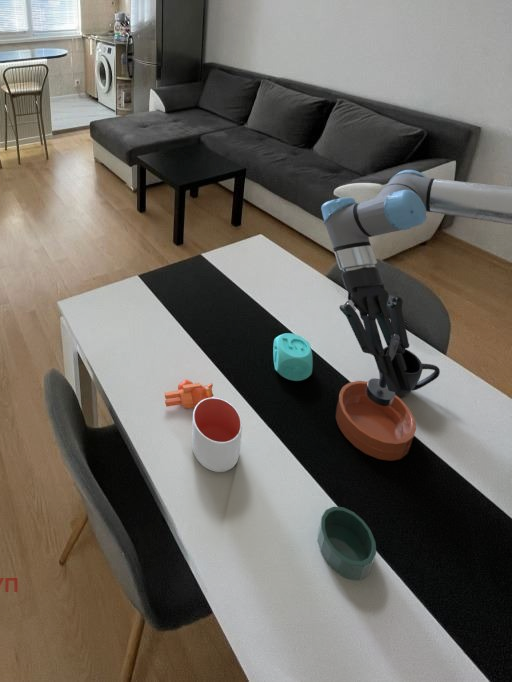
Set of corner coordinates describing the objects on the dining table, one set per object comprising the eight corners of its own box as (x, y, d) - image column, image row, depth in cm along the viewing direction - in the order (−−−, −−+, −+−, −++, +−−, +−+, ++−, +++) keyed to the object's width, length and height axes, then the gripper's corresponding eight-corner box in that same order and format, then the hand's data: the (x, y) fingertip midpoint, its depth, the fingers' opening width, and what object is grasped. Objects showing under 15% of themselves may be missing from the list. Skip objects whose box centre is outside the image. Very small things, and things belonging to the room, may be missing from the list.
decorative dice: (272, 353, 115) (275, 330, 112) (303, 357, 114) (307, 334, 111) (276, 378, 108) (279, 355, 105) (310, 383, 107) (314, 360, 103)
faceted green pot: (369, 537, 78) (374, 521, 76) (371, 593, 71) (376, 576, 69) (319, 513, 81) (322, 497, 79) (315, 564, 74) (319, 548, 73)
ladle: (392, 390, 91) (410, 330, 85) (394, 410, 87) (412, 348, 81) (365, 381, 93) (380, 322, 87) (366, 400, 89) (382, 339, 83)
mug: (437, 411, 98) (448, 382, 95) (378, 398, 102) (386, 369, 98) (425, 381, 106) (434, 352, 102) (370, 370, 109) (377, 342, 106)
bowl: (406, 414, 98) (411, 395, 96) (412, 475, 87) (419, 456, 84) (336, 389, 105) (340, 372, 102) (334, 443, 93) (338, 424, 91)
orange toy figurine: (167, 396, 99) (217, 389, 100) (160, 377, 106) (206, 370, 107) (168, 417, 99) (218, 409, 100) (161, 396, 106) (208, 389, 108)
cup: (236, 482, 87) (239, 450, 83) (187, 465, 90) (188, 434, 86) (240, 435, 95) (243, 404, 92) (196, 422, 99) (197, 391, 95)
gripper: (378, 267, 97) (419, 383, 88) (319, 274, 96) (354, 393, 87) (400, 262, 90) (447, 387, 81) (337, 270, 89) (378, 399, 80)
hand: (399, 390), depth 84 cm, fingers closed on ladle
